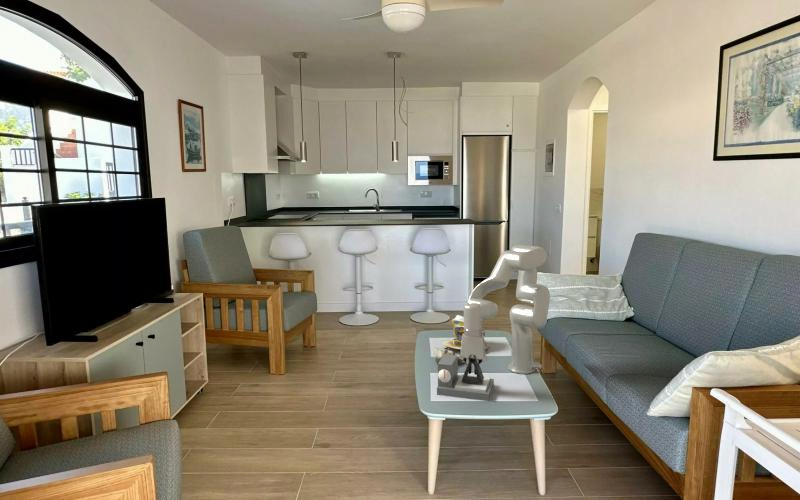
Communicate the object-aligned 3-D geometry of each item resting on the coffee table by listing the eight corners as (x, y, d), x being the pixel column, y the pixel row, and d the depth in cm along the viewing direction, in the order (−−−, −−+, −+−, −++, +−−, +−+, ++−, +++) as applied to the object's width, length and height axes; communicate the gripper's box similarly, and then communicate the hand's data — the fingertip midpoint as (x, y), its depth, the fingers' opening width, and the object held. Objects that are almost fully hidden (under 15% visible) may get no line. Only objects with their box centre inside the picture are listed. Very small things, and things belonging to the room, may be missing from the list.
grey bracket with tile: (494, 385, 209) (494, 357, 208) (488, 401, 194) (488, 370, 193) (445, 379, 217) (445, 352, 215) (436, 394, 202) (436, 365, 200)
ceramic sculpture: (440, 341, 243) (465, 348, 234) (439, 357, 245) (465, 364, 236) (428, 347, 235) (454, 355, 226) (428, 363, 237) (454, 372, 228)
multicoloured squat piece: (455, 338, 275) (455, 310, 273) (495, 345, 261) (495, 316, 259) (434, 351, 255) (434, 321, 252) (476, 359, 241) (476, 327, 239)
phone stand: (484, 378, 205) (484, 351, 204) (482, 383, 200) (482, 356, 198) (463, 376, 208) (463, 350, 206) (461, 381, 202) (461, 355, 200)
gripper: (492, 330, 202) (492, 371, 204) (456, 328, 207) (456, 368, 210) (490, 336, 195) (490, 378, 197) (452, 333, 200) (453, 374, 203)
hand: (473, 372), depth 203 cm, fingers closed on phone stand
